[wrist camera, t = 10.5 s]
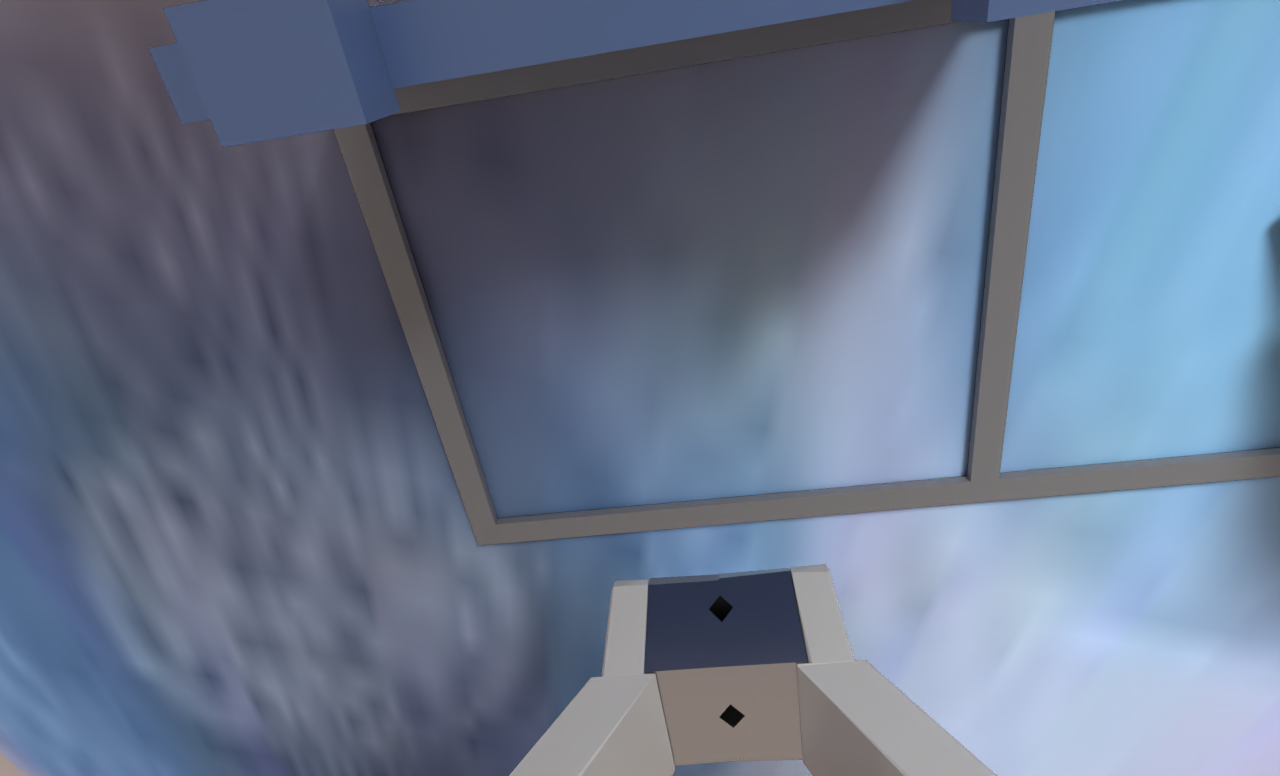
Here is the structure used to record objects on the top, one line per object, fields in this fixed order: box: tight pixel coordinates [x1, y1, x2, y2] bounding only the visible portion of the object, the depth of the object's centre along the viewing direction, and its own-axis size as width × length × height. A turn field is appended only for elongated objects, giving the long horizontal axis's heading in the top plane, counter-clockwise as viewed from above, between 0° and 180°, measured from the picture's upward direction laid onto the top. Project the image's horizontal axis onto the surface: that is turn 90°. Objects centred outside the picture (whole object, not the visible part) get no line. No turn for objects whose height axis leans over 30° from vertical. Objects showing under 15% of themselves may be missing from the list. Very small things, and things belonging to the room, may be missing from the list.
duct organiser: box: [148, 0, 1280, 545], centre depth 14 cm, size 15×32×8 cm, turn 99°
